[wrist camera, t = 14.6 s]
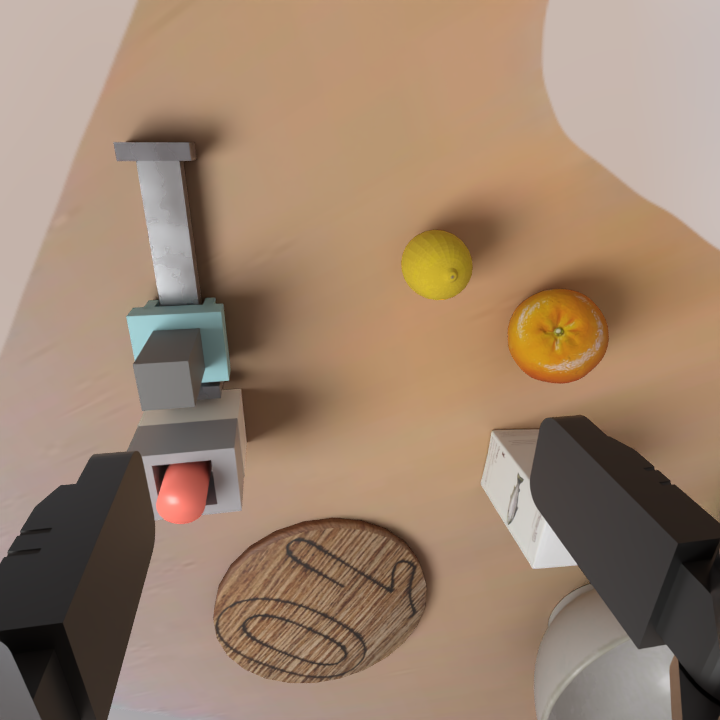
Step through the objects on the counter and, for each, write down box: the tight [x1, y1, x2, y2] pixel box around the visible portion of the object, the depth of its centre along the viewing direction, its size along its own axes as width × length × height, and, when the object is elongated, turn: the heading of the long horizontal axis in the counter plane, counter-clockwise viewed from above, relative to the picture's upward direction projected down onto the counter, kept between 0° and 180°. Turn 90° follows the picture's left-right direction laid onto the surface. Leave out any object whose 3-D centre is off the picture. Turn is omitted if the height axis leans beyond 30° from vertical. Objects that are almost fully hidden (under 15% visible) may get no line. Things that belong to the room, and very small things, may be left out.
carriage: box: [126, 298, 231, 411], centre depth 38 cm, size 6×7×11 cm
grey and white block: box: [127, 389, 247, 520], centre depth 43 cm, size 6×8×10 cm
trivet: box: [213, 518, 427, 683], centre depth 59 cm, size 25×25×2 cm
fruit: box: [507, 289, 609, 383], centre depth 45 cm, size 8×8×8 cm
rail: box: [114, 142, 224, 400], centre depth 40 cm, size 20×5×3 cm, turn 0°
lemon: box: [401, 230, 473, 300], centre depth 41 cm, size 6×6×8 cm
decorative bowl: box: [534, 584, 674, 720], centre depth 64 cm, size 27×27×12 cm
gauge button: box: [156, 460, 212, 524], centre depth 39 cm, size 3×3×6 cm
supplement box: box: [481, 429, 577, 569], centre depth 50 cm, size 7×7×13 cm
